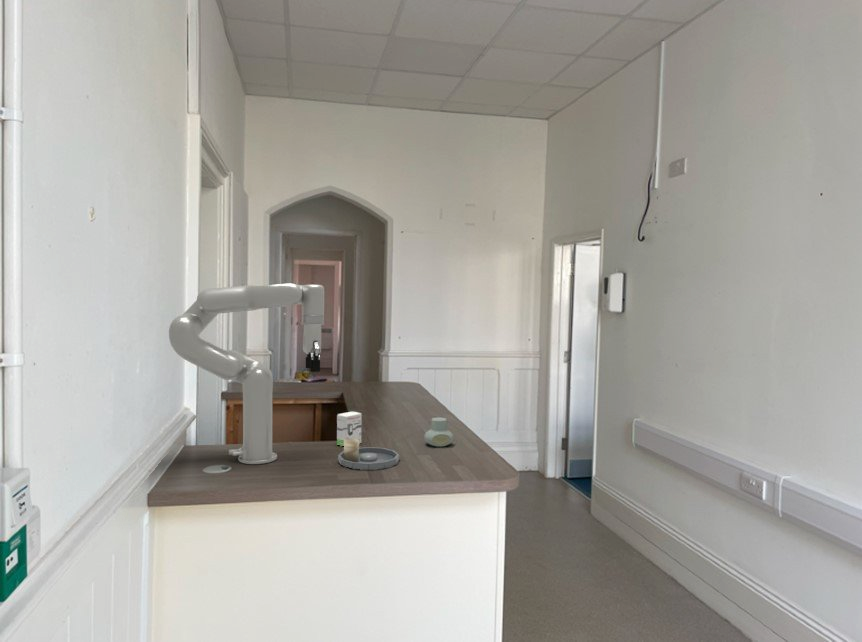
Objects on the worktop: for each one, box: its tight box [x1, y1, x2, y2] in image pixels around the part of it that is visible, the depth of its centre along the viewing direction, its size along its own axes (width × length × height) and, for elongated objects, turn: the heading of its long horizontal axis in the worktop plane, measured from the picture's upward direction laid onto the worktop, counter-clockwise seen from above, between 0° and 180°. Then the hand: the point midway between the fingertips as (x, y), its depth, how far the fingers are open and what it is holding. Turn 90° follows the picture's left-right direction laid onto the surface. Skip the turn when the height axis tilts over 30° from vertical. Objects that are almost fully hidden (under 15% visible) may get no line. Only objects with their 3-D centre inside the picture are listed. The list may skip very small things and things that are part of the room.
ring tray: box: [337, 446, 400, 471], centre depth 198 cm, size 20×20×2 cm
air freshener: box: [423, 416, 454, 448], centre depth 221 cm, size 11×8×10 cm
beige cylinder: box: [343, 439, 360, 462], centre depth 196 cm, size 5×5×7 cm
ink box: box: [336, 411, 363, 447], centre depth 220 cm, size 9×5×12 cm, turn 143°
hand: (312, 369), depth 202 cm, fingers open, 9 cm apart
